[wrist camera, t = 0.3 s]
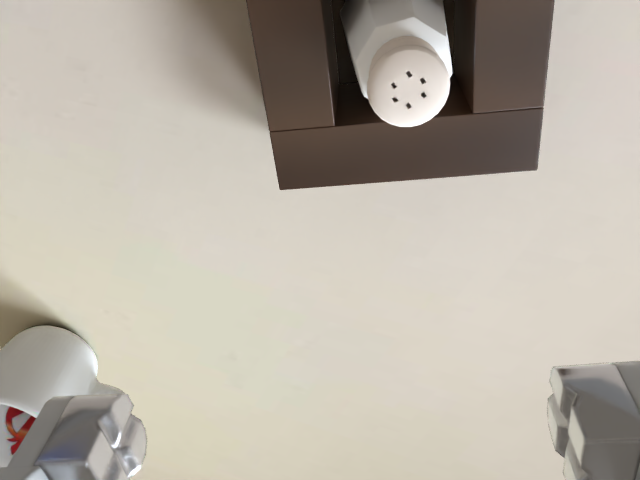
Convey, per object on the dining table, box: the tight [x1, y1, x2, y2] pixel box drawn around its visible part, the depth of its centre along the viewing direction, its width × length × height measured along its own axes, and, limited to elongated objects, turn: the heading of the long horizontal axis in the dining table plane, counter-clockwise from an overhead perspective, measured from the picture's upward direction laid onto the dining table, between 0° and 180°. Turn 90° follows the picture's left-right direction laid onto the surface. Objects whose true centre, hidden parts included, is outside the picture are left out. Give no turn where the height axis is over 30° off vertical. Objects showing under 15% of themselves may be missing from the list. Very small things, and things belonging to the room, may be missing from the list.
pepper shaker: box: [339, 0, 452, 127], centre depth 23 cm, size 5×5×11 cm
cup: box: [0, 326, 125, 468], centre depth 39 cm, size 11×8×8 cm
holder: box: [246, 0, 554, 190], centre depth 25 cm, size 12×12×6 cm
